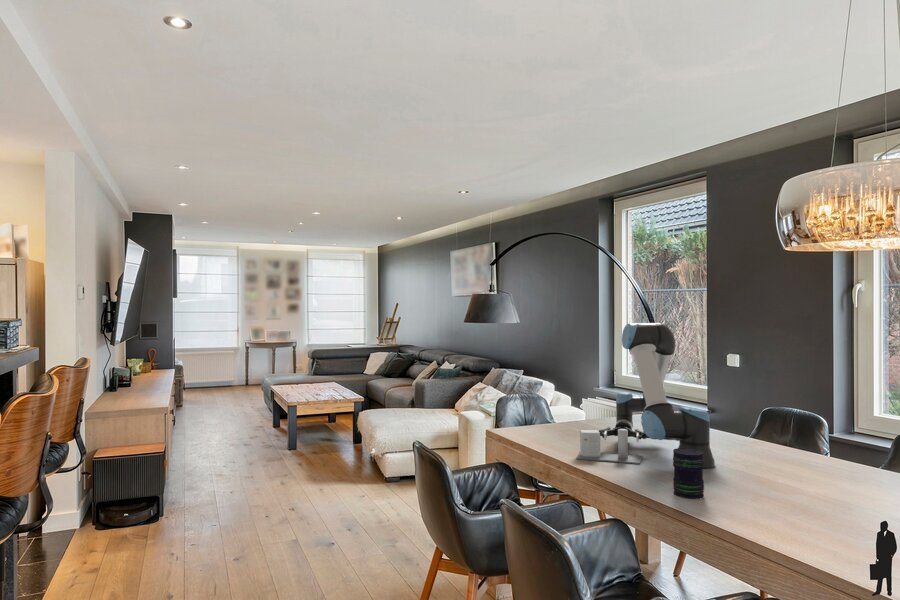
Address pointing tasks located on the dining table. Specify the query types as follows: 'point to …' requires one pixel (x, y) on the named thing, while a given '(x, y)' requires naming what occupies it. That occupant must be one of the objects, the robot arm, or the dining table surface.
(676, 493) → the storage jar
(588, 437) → the small box
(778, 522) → the dining table surface
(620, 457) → the base plate with uprights
